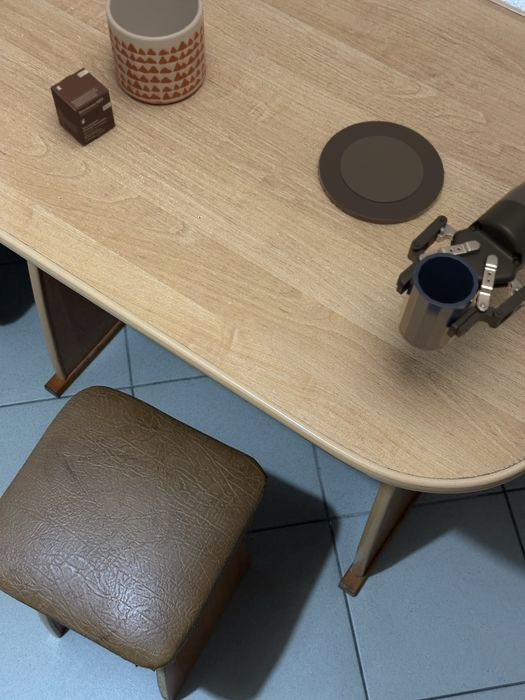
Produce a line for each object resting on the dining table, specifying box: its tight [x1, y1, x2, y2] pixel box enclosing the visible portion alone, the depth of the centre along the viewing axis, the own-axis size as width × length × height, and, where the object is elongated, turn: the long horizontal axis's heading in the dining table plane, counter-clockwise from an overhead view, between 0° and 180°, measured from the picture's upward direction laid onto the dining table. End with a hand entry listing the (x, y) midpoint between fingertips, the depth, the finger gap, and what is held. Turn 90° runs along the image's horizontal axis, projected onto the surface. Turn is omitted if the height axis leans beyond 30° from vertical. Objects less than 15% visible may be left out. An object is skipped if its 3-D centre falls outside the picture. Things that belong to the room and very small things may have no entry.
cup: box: [397, 253, 478, 352], centre depth 93 cm, size 7×7×10 cm
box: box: [50, 67, 116, 146], centre depth 120 cm, size 6×6×7 cm
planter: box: [104, 0, 207, 105], centre depth 123 cm, size 14×14×13 cm
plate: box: [318, 120, 445, 225], centre depth 120 cm, size 18×18×1 cm
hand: (424, 310), depth 91 cm, fingers closed on cup, 7 cm apart
